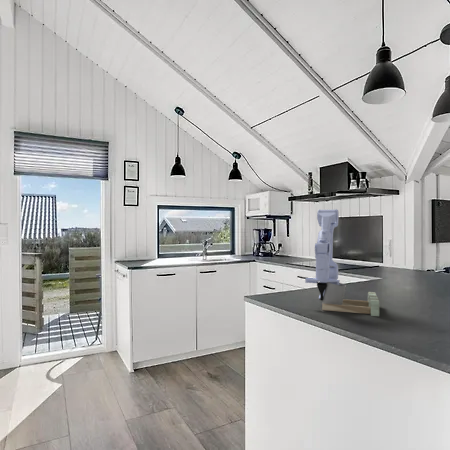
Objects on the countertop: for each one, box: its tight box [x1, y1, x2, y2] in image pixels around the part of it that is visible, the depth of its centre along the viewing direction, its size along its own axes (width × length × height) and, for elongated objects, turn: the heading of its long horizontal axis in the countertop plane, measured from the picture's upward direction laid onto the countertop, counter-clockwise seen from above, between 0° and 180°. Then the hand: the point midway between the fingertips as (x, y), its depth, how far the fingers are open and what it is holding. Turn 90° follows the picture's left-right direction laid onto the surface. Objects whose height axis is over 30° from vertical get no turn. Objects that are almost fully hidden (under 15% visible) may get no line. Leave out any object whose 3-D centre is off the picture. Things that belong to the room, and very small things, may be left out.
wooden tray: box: [321, 291, 380, 317], centre depth 152 cm, size 20×22×6 cm
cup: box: [321, 282, 347, 305], centre depth 154 cm, size 8×8×10 cm
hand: (322, 300), depth 155 cm, fingers closed, pressing on cup
